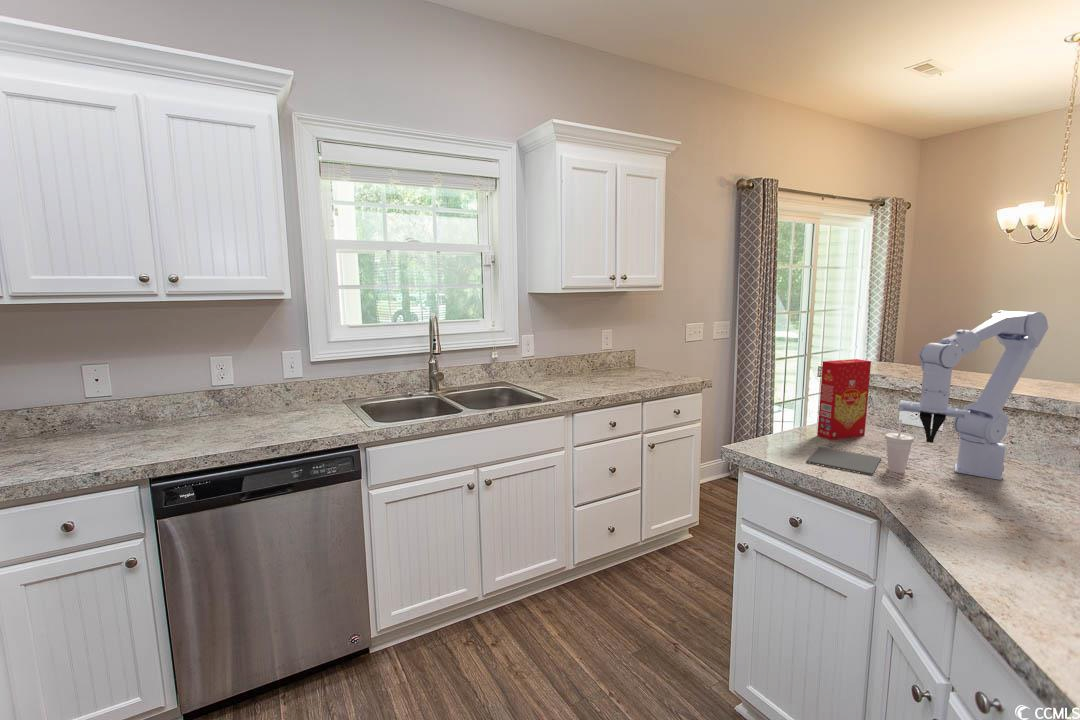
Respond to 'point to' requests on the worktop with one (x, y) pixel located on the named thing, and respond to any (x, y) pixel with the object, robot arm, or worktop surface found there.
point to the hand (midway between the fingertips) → (929, 441)
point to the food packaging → (843, 398)
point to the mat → (845, 460)
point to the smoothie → (898, 450)
